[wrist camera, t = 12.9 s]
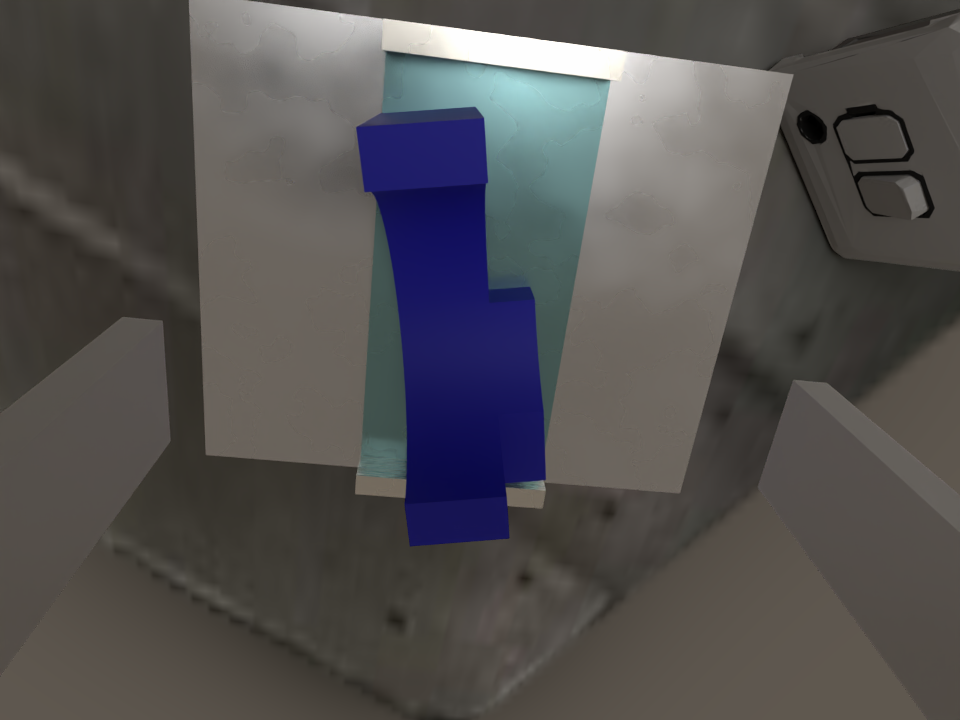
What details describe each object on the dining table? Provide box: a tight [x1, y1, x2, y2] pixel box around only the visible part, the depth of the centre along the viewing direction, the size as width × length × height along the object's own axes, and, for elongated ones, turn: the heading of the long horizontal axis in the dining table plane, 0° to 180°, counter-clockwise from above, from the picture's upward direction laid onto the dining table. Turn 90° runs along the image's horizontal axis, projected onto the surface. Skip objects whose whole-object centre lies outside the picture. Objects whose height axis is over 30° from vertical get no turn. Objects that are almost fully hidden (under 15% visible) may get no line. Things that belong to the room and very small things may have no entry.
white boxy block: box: [189, 0, 794, 509], centre depth 27 cm, size 19×16×9 cm
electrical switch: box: [769, 9, 960, 271], centre depth 26 cm, size 9×5×9 cm, turn 32°
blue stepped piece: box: [356, 107, 546, 546], centre depth 21 cm, size 12×4×6 cm, turn 4°
